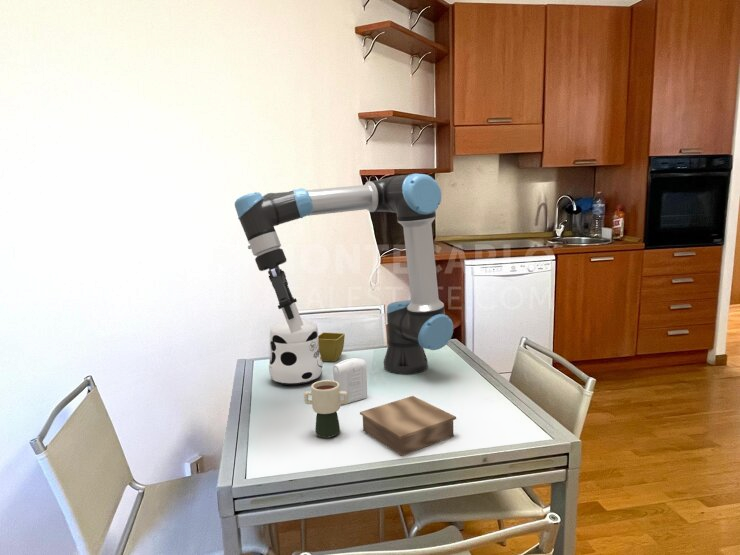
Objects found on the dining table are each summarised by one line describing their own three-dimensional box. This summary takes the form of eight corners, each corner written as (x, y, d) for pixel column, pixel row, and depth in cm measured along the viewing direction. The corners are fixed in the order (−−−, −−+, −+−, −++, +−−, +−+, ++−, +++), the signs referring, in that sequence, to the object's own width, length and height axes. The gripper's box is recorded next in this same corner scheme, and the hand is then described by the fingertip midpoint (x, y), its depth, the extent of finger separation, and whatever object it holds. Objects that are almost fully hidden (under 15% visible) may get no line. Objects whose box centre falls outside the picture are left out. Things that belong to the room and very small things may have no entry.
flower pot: (346, 356, 193) (345, 333, 191) (338, 364, 185) (337, 339, 183) (324, 355, 195) (322, 332, 194) (315, 362, 187) (313, 338, 186)
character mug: (351, 427, 134) (349, 379, 132) (347, 440, 127) (345, 390, 125) (309, 427, 135) (306, 379, 133) (303, 440, 128) (300, 390, 126)
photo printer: (361, 393, 156) (360, 354, 154) (369, 398, 153) (368, 357, 151) (332, 402, 151) (330, 361, 149) (339, 406, 147) (337, 365, 145)
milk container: (334, 377, 171) (331, 324, 168) (292, 393, 159) (288, 336, 156) (300, 367, 183) (297, 317, 180) (259, 381, 170) (255, 327, 168)
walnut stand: (413, 413, 141) (412, 395, 140) (456, 436, 127) (456, 416, 126) (360, 430, 132) (359, 412, 131) (400, 457, 118) (400, 436, 117)
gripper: (259, 259, 146) (287, 330, 147) (247, 254, 121) (280, 339, 122) (284, 250, 147) (312, 320, 147) (277, 243, 122) (310, 327, 123)
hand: (297, 329), depth 135 cm, fingers open, 13 cm apart
